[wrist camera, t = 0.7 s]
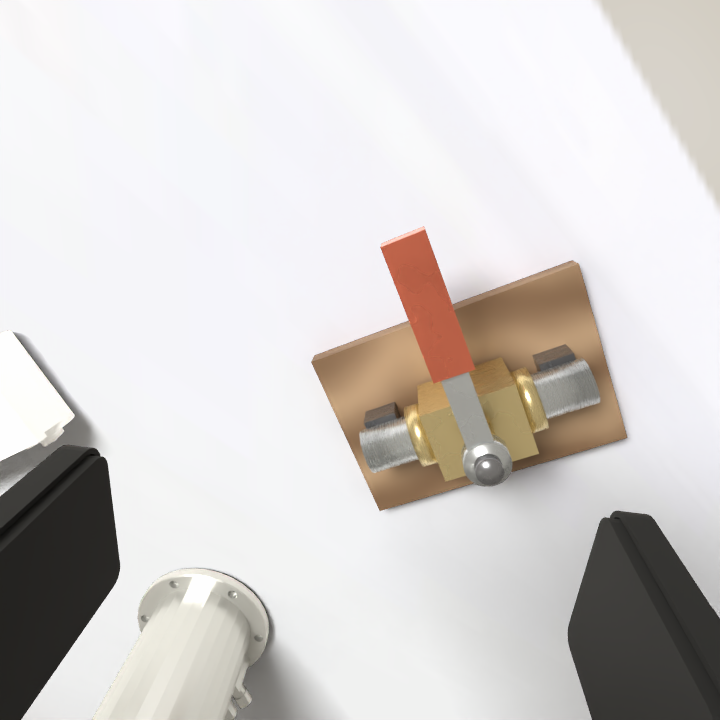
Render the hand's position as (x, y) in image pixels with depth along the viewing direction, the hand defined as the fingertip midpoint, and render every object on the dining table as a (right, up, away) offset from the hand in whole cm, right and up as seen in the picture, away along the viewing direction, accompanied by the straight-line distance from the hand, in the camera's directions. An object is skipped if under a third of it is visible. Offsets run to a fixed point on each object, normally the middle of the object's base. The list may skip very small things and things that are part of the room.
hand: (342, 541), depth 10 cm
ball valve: (+9, 0, +29) cm, 31 cm away
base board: (+9, +1, +31) cm, 32 cm away
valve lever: (+5, +3, +20) cm, 21 cm away
